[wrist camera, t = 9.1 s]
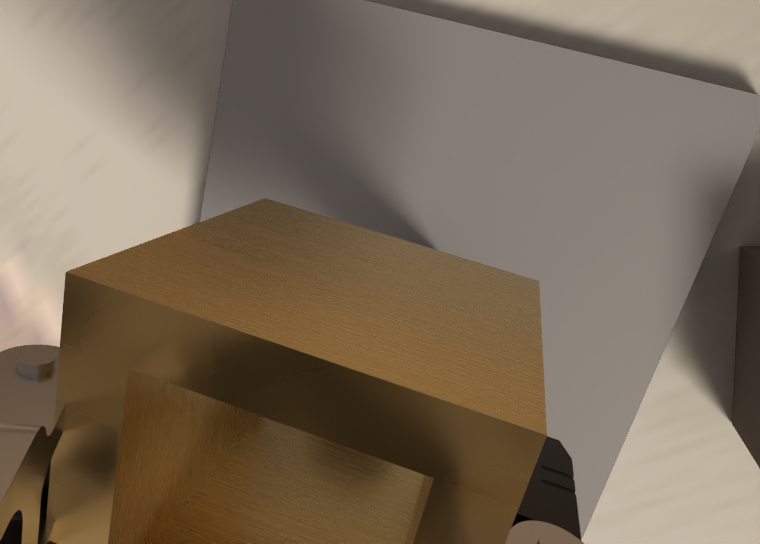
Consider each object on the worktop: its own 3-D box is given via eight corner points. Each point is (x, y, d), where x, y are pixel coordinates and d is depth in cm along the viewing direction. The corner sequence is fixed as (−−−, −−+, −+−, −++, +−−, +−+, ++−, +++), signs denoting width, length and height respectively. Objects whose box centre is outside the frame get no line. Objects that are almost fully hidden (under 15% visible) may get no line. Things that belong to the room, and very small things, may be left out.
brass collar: (539, 280, 12) (546, 435, 7) (456, 517, 14) (407, 793, 8) (265, 198, 13) (65, 271, 7) (222, 431, 15) (38, 628, 9)
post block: (760, 98, 17) (869, 97, 12) (573, 535, 23) (587, 679, 17) (251, -25, 20) (141, -74, 14) (185, 395, 25) (85, 480, 19)
